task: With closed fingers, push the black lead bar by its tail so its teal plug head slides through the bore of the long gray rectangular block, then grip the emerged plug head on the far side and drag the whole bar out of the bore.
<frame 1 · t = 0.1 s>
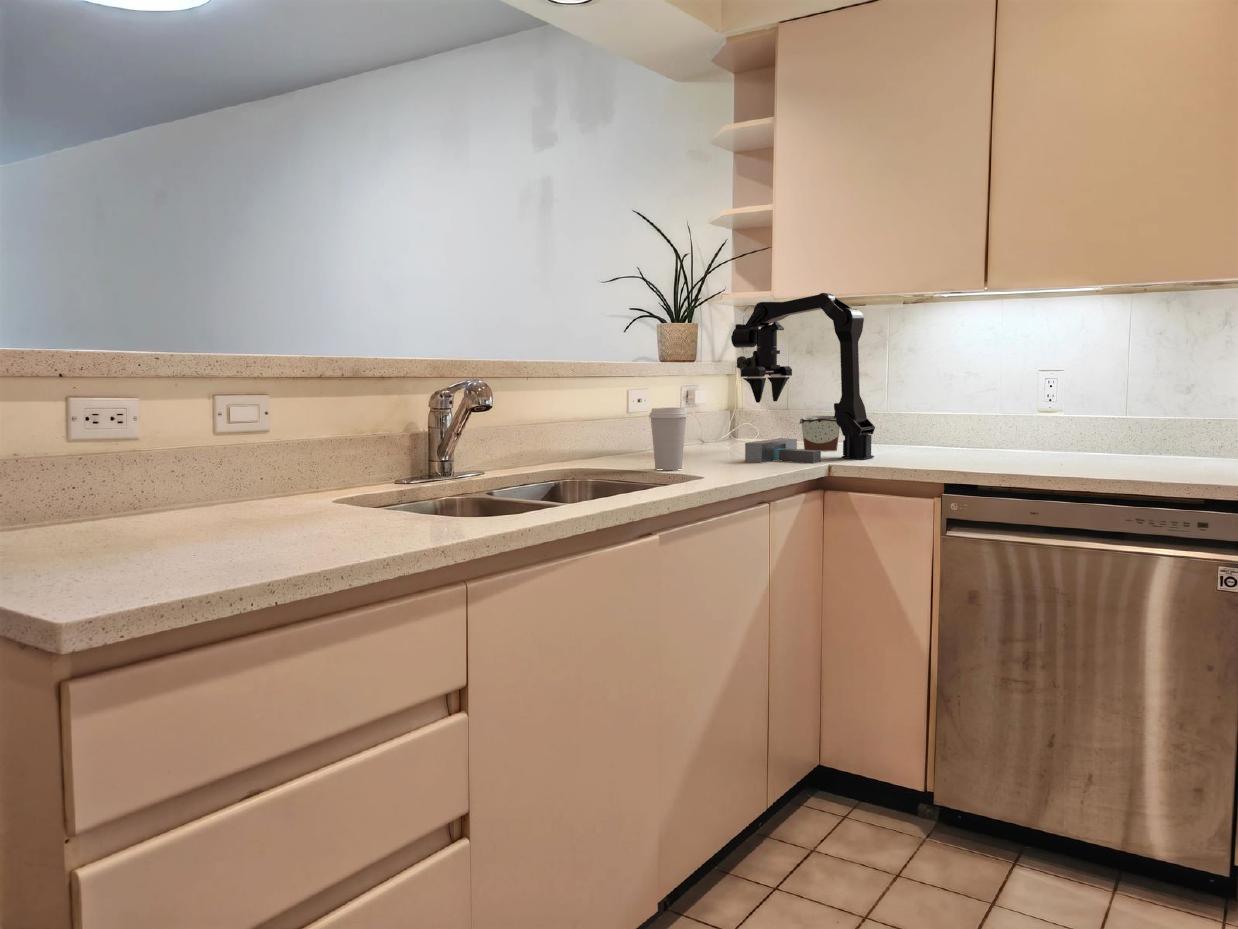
hand: (766, 401, 259), 15 cm above the worktop, tool pointing down, fingers open, 9 cm apart
coffee cup: (668, 470, 222), on the worktop
long gray rectangular block: (771, 459, 242), on the worktop
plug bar: (794, 461, 237), on the worktop
food container: (819, 450, 267), on the worktop
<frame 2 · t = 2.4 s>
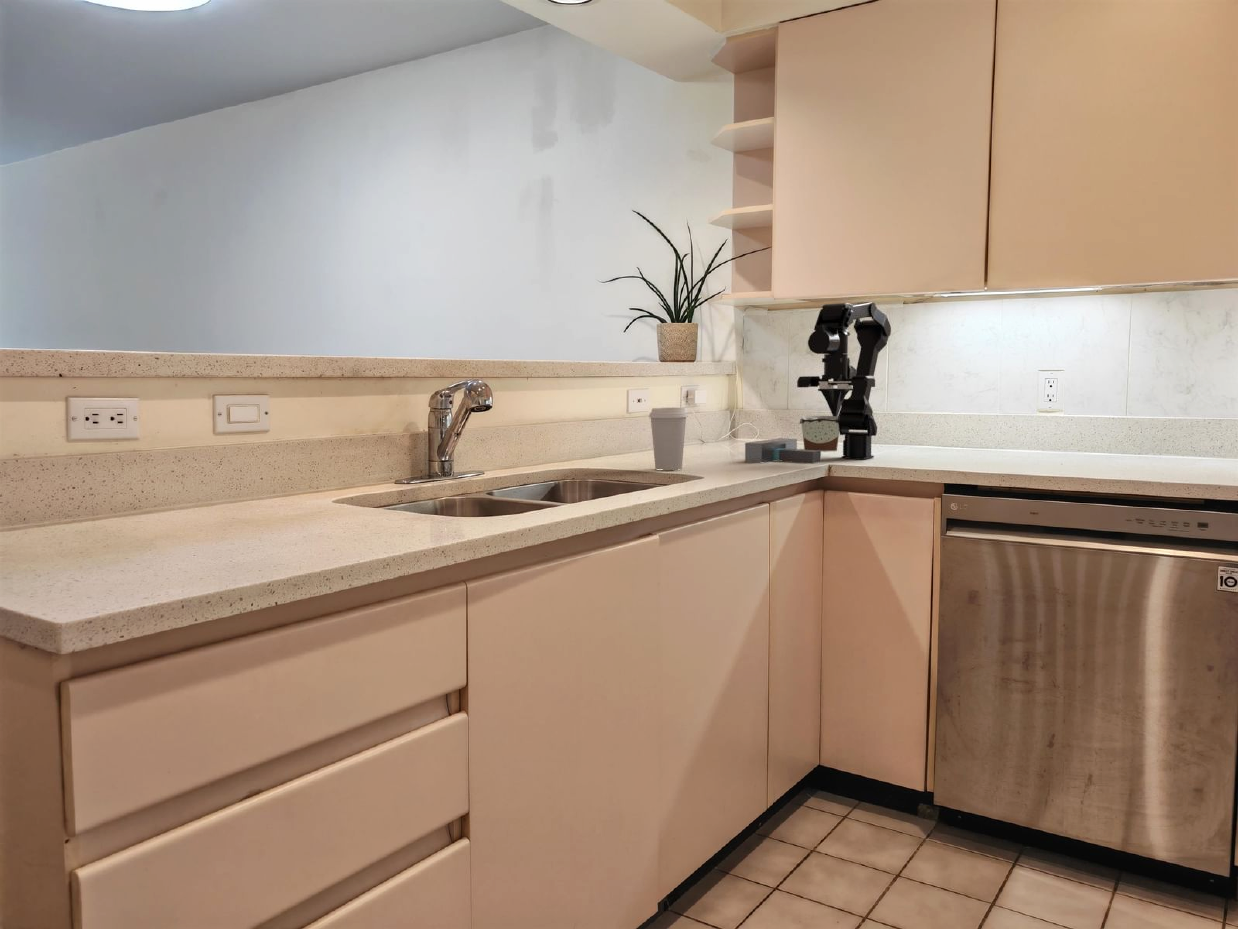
hand: (835, 416, 229), 12 cm above the worktop, tool pointing down, fingers closed
nothing on the worktop moved.
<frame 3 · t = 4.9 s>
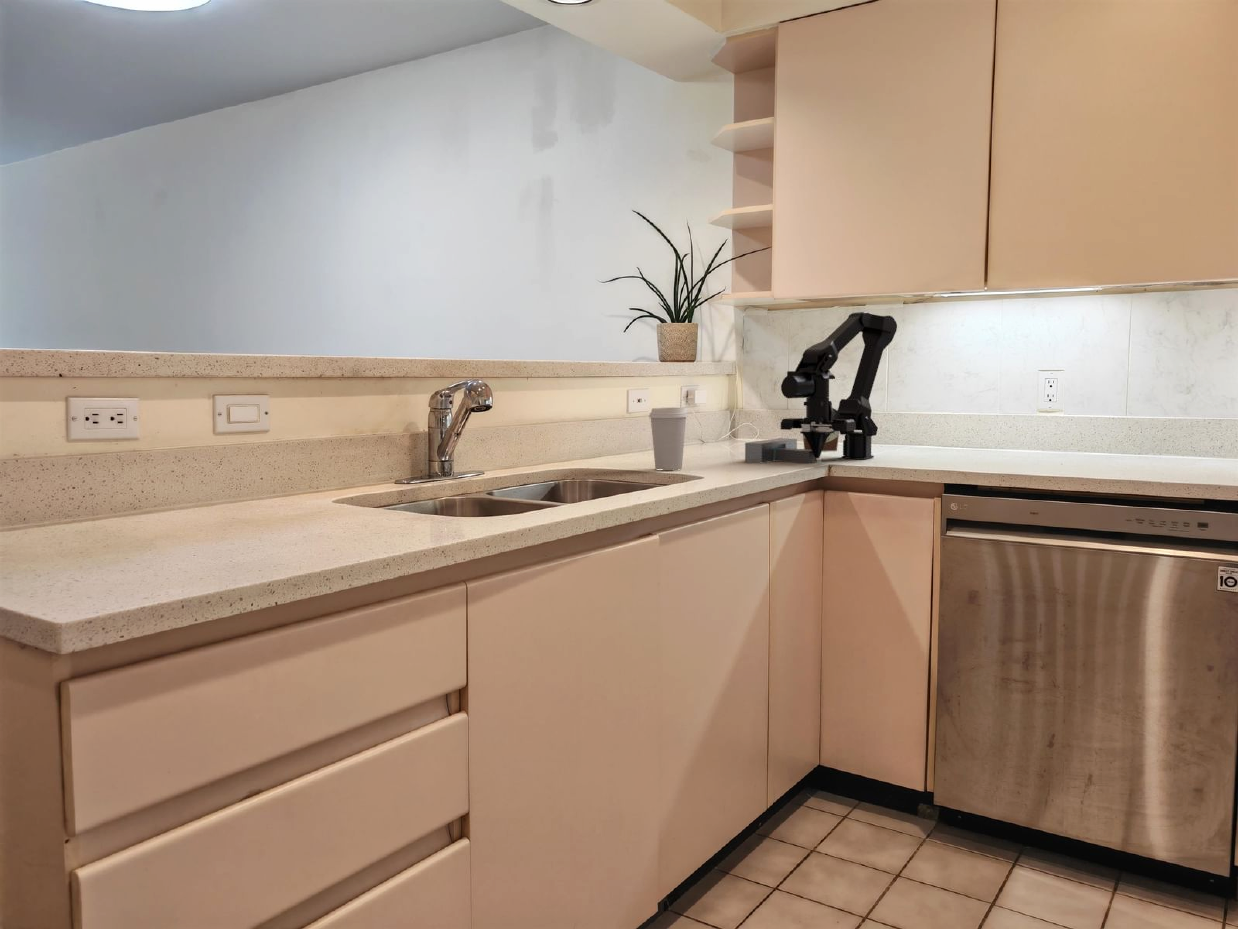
hand: (817, 458, 233), 1 cm above the worktop, tool pointing down, fingers closed
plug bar: (790, 460, 238), on the worktop, touching gripper
everything else where it was.
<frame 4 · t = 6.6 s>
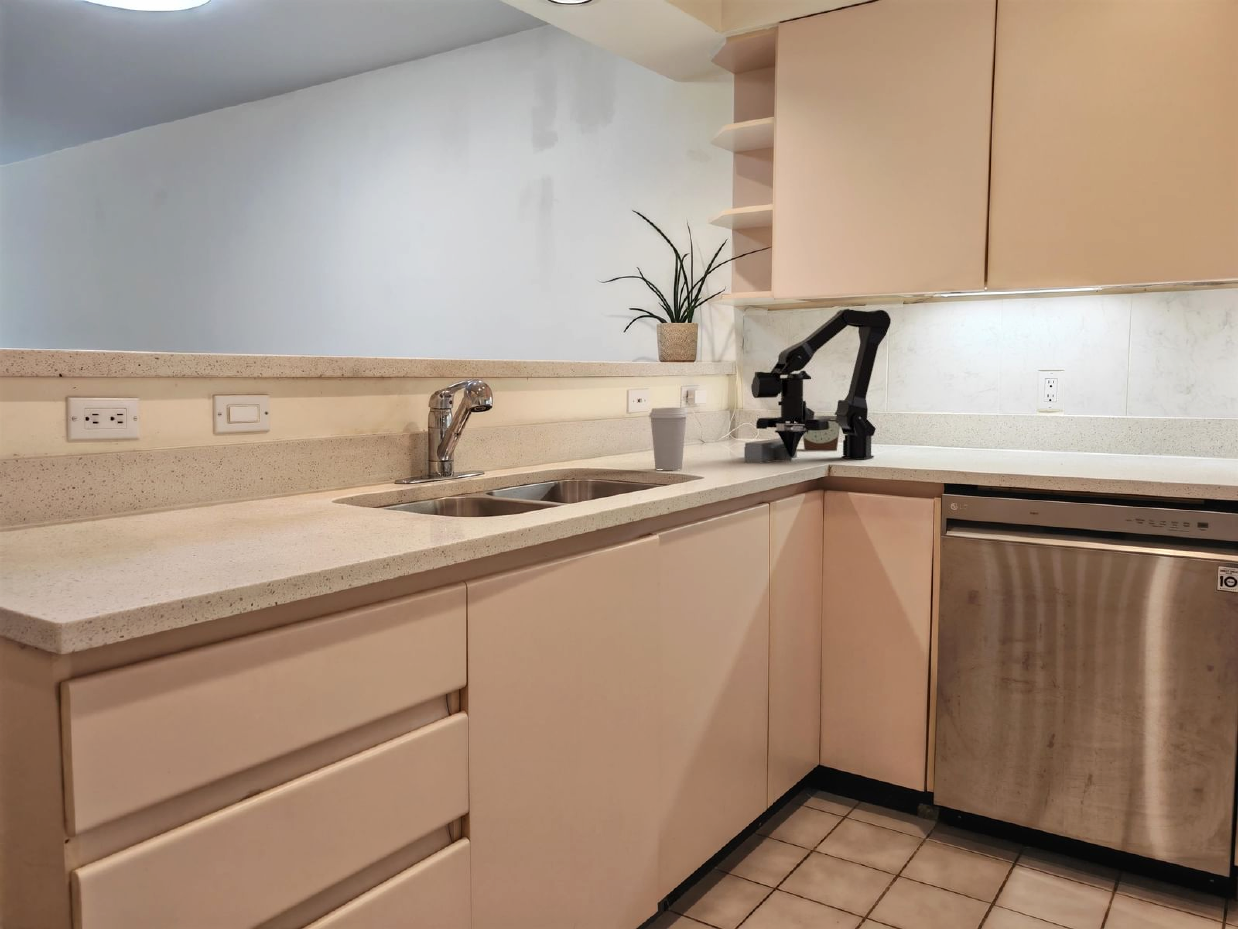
hand: (791, 456, 238), 1 cm above the worktop, tool pointing down, fingers closed
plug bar: (767, 458, 244), on the worktop, touching gripper
everything else where it was.
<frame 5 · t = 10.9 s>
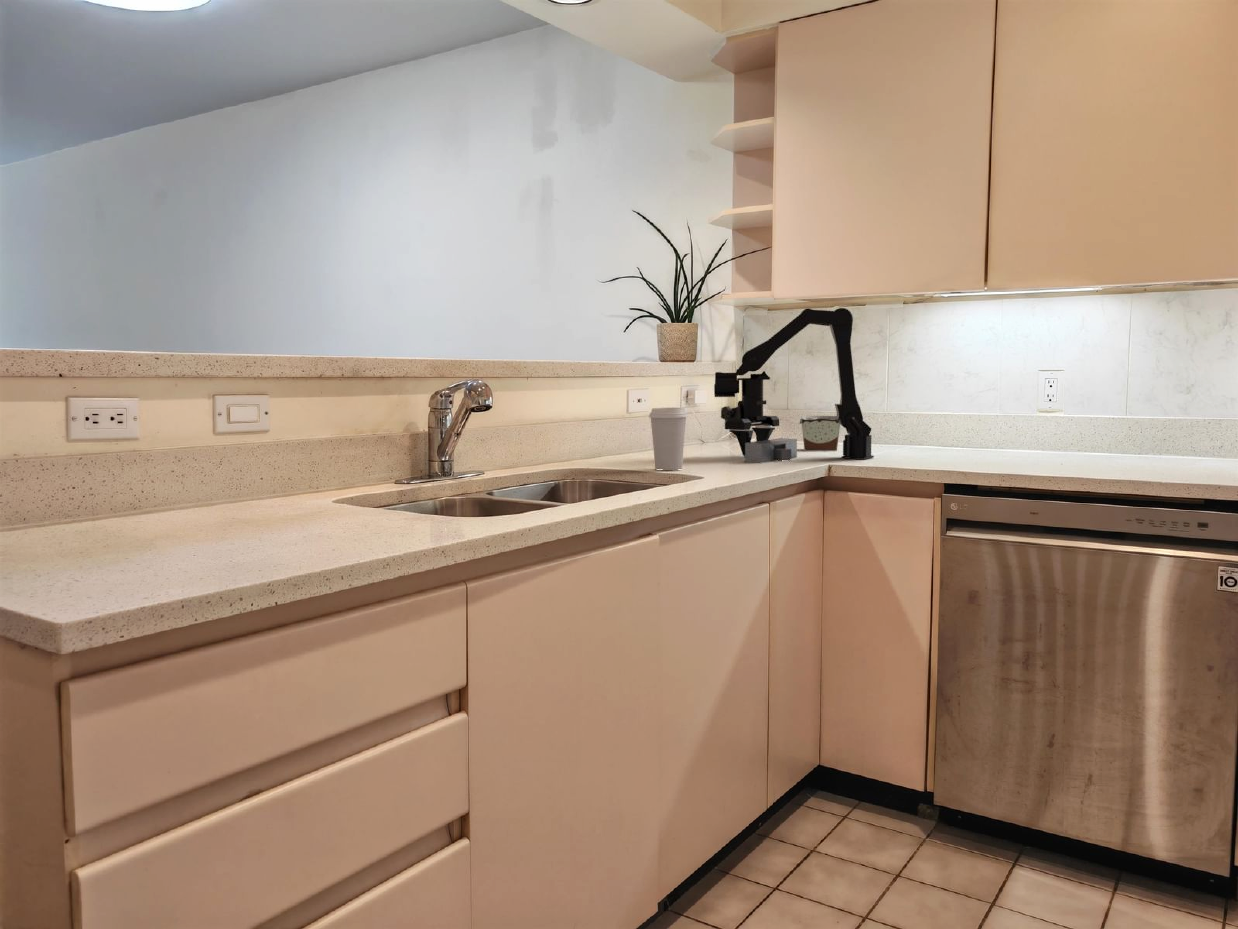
hand: (752, 454, 246), 1 cm above the worktop, tool pointing down, fingers open, 7 cm apart
nothing on the worktop moved.
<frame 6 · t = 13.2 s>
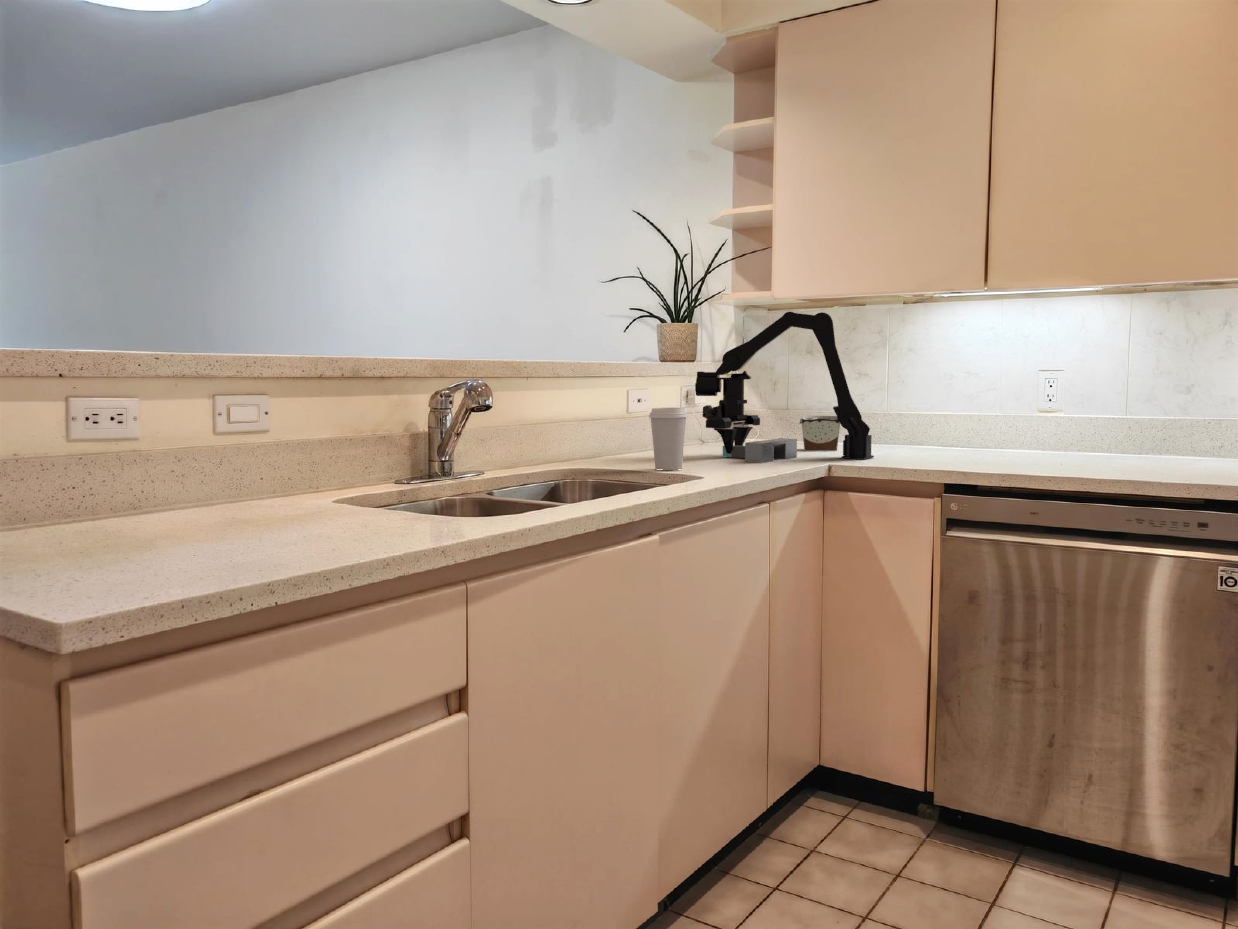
hand: (733, 452, 250), 1 cm above the worktop, tool pointing down, fingers closed on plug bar, 4 cm apart
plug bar: (746, 457, 247), on the worktop, touching gripper
everything else where it was.
when the fingers open (1 cm above the worktop, at t = 14.8 s): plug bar stays where it is, on the worktop.
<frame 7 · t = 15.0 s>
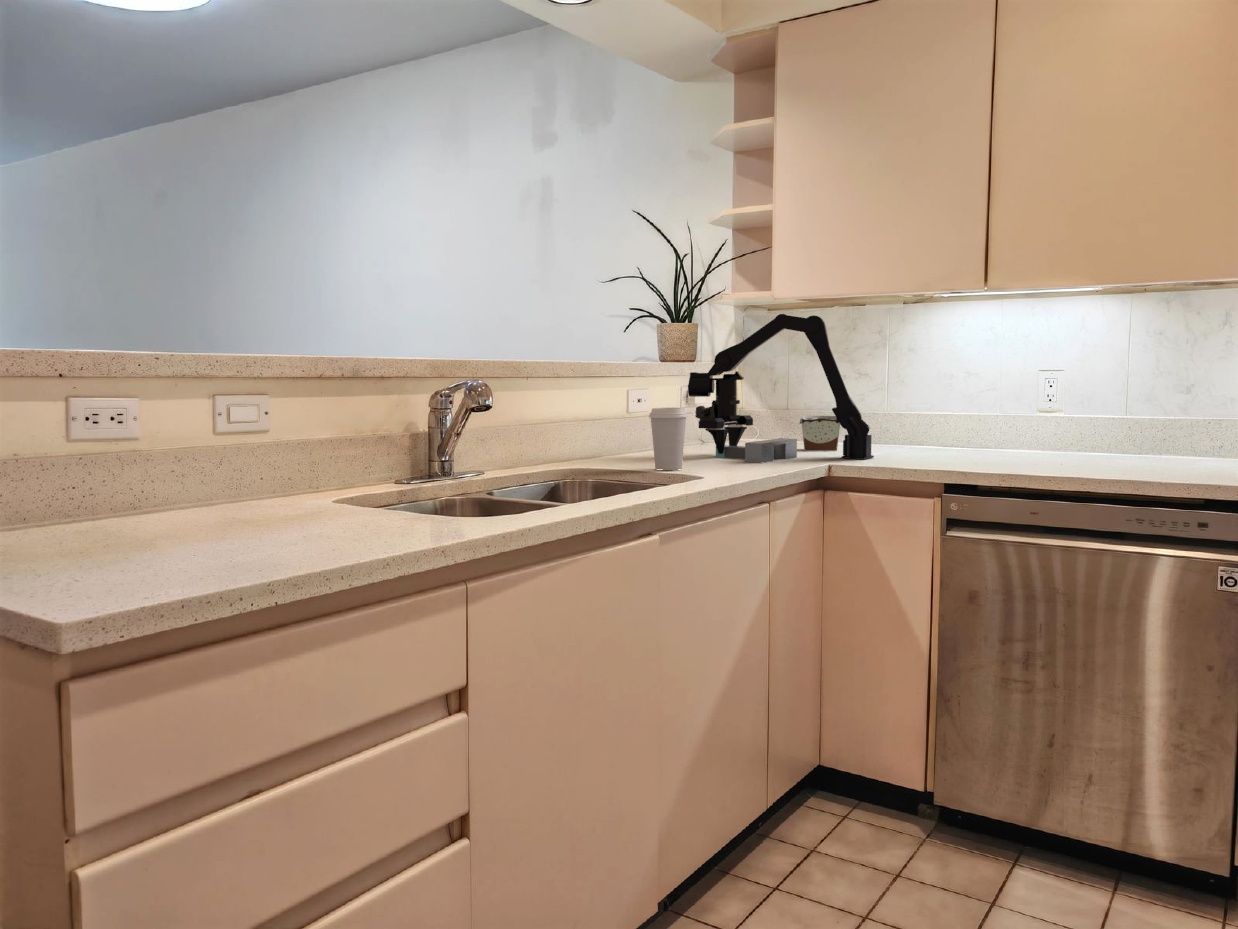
hand: (726, 452, 251), 1 cm above the worktop, tool pointing down, fingers open, 5 cm apart
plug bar: (739, 457, 248), on the worktop
everything else where it was.
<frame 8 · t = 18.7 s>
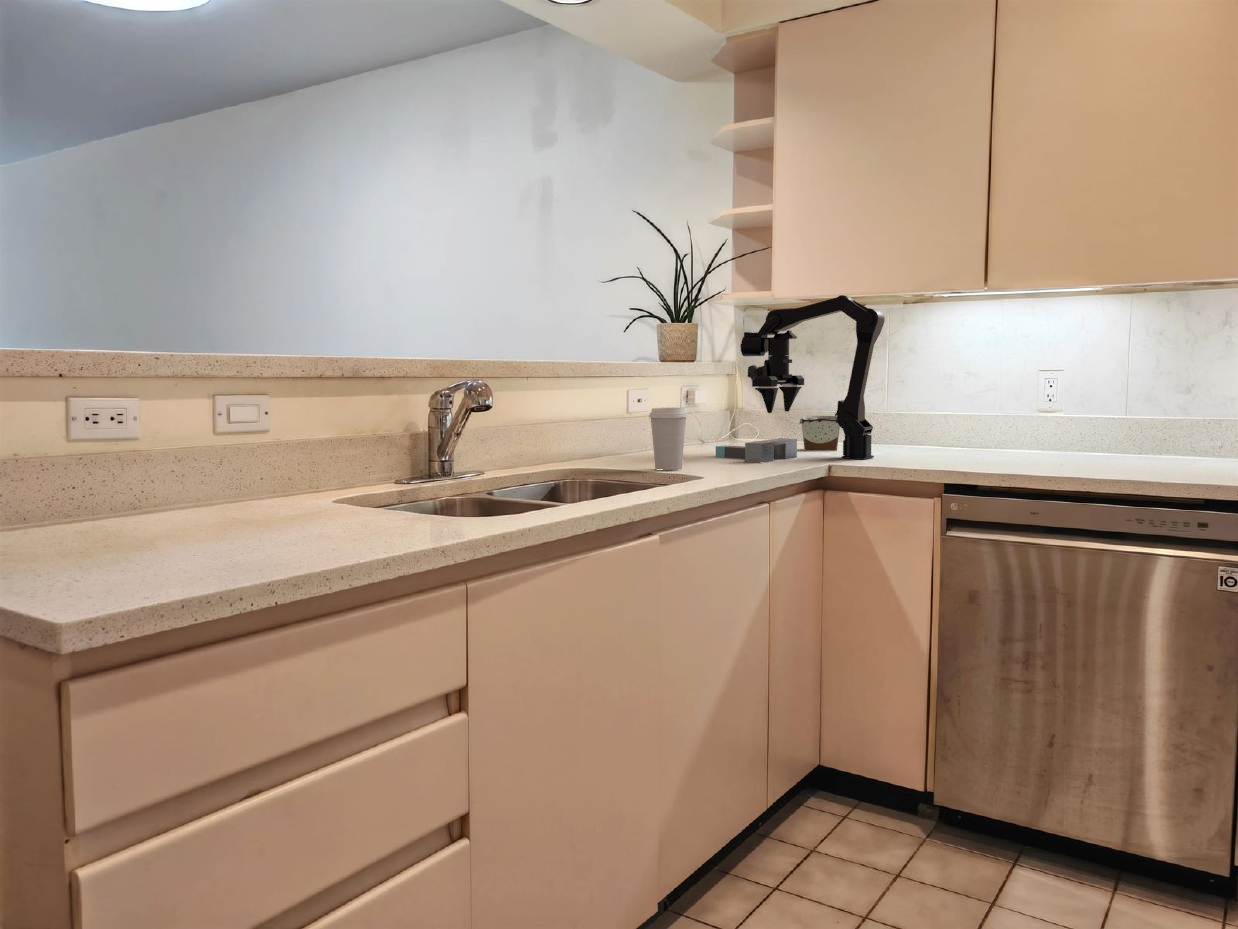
hand: (778, 412, 252), 12 cm above the worktop, tool pointing down, fingers open, 9 cm apart
nothing on the worktop moved.
at the end: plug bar inside the target area (4.3 cm from its centre), on the worktop; the gripper is holding nothing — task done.
